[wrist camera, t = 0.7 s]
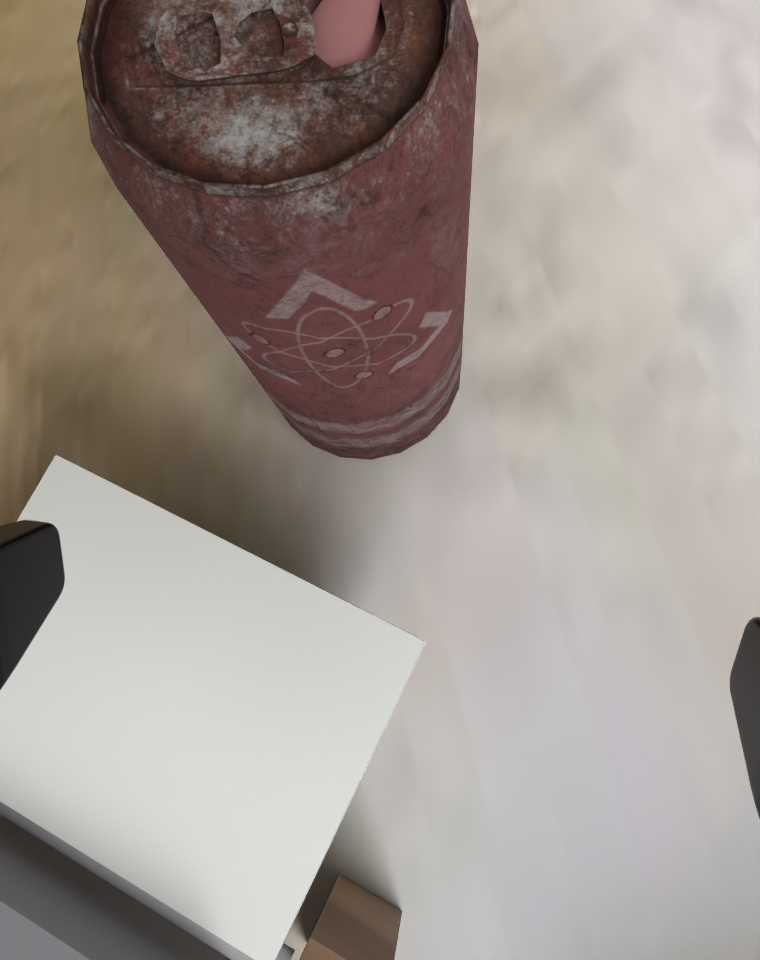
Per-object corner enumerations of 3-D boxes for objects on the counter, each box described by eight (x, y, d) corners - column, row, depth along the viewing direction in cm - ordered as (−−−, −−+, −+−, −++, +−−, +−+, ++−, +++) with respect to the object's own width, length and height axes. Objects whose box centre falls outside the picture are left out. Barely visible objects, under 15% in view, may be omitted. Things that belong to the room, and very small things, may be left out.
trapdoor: (234, 1079, 18) (168, 1218, 14) (-121, 844, 20) (-277, 900, 16) (437, 646, 20) (435, 648, 15) (93, 472, 22) (6, 430, 17)
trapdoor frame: (370, 982, 20) (348, 1078, 15) (-81, 707, 22) (-205, 723, 18) (401, 911, 20) (390, 986, 16) (-47, 649, 23) (-162, 651, 18)
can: (504, 359, 23) (587, -38, 10) (372, 501, 23) (258, 293, 9) (369, 250, 24) (274, -235, 11) (240, 382, 24) (-32, 42, 10)
